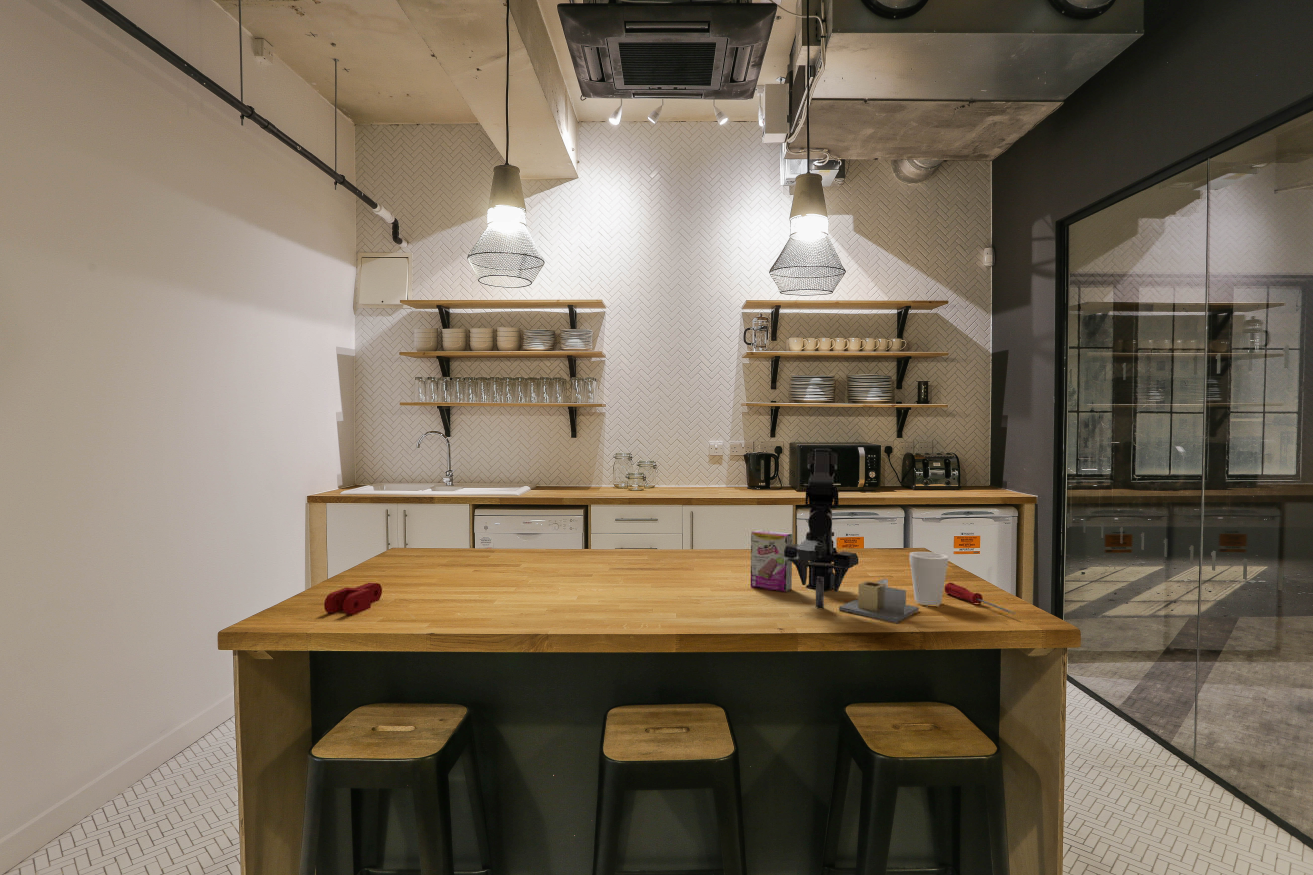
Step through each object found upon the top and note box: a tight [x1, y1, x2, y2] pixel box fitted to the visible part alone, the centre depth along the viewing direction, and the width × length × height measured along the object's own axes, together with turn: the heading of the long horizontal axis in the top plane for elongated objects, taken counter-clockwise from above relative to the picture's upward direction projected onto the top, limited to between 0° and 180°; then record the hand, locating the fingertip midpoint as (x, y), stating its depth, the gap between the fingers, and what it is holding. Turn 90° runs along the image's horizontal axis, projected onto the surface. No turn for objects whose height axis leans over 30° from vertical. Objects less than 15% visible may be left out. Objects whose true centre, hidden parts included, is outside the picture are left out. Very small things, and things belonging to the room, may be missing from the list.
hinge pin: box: [815, 576, 825, 609], centre depth 168 cm, size 2×2×8 cm
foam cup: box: [909, 551, 949, 605], centre depth 172 cm, size 10×9×13 cm
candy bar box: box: [750, 529, 793, 593], centre depth 187 cm, size 11×5×16 cm, turn 58°
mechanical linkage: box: [323, 582, 383, 616], centre depth 166 cm, size 16×7×5 cm, turn 168°
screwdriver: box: [943, 582, 1016, 614], centre depth 170 cm, size 4×25×4 cm, turn 12°
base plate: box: [838, 598, 920, 624], centre depth 165 cm, size 15×14×1 cm
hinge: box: [857, 578, 907, 615], centre depth 164 cm, size 11×11×6 cm
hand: (819, 588), depth 168 cm, fingers open, 9 cm apart
